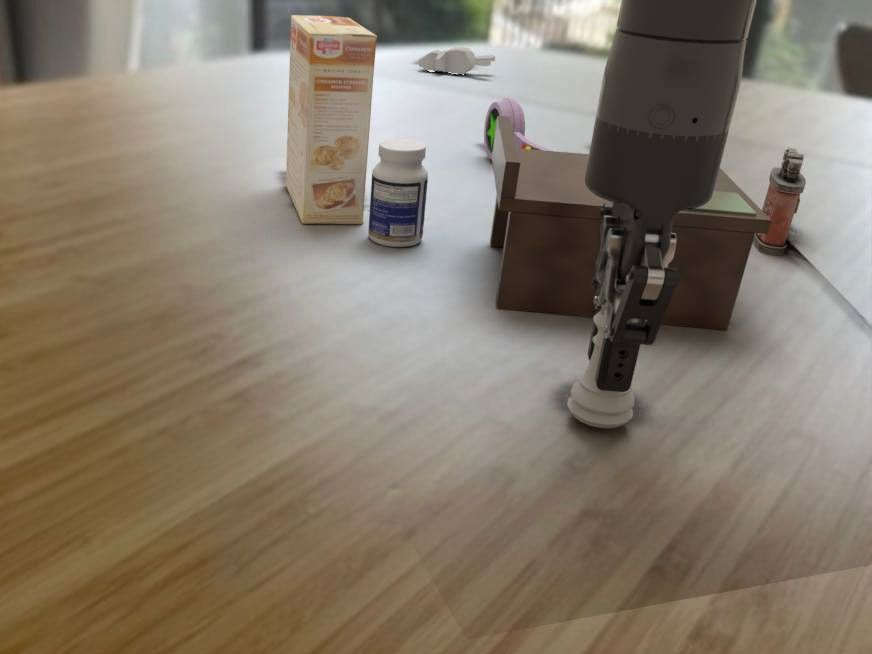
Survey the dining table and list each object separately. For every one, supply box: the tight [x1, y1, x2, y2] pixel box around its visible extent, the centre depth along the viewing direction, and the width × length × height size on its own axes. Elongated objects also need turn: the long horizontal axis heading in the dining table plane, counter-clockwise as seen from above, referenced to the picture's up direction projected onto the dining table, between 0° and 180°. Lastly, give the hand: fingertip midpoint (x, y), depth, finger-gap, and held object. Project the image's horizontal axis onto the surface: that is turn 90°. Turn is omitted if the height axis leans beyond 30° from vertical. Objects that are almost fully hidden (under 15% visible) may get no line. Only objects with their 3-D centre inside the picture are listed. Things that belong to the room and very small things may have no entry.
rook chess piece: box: [567, 302, 638, 429], centre depth 61 cm, size 4×4×8 cm
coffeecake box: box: [285, 14, 378, 225], centre depth 100 cm, size 15×7×20 cm, turn 9°
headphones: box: [483, 97, 552, 160], centre depth 120 cm, size 20×10×20 cm
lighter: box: [752, 147, 807, 256], centre depth 98 cm, size 8×3×10 cm, turn 161°
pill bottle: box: [367, 138, 429, 248], centre depth 93 cm, size 6×6×10 cm
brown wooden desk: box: [489, 116, 772, 331], centre depth 84 cm, size 22×18×13 cm
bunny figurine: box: [418, 46, 496, 75], centre depth 187 cm, size 10×5×15 cm
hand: (607, 373), depth 61 cm, fingers closed on rook chess piece, 3 cm apart
